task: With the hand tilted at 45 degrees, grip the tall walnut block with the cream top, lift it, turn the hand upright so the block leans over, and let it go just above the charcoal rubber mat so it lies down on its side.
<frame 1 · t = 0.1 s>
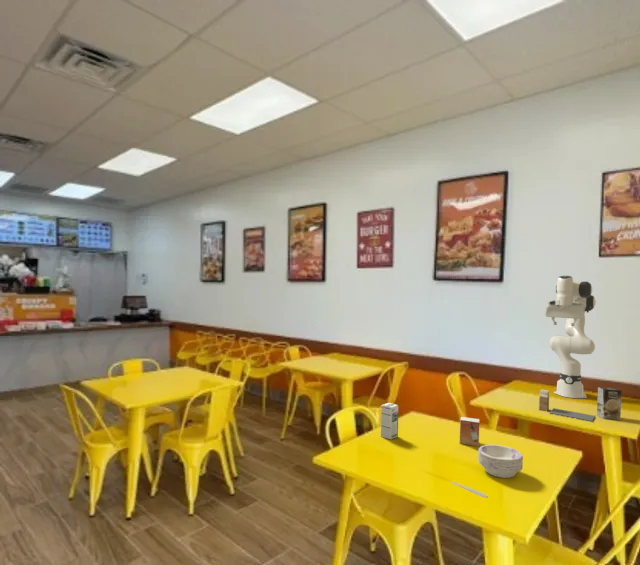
hand: (564, 325, 253), 48 cm above the table, tool pointing down, fingers open, 8 cm apart
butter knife: (450, 483, 147), on the table
mat: (572, 415, 232), on the table
small box: (469, 443, 185), on the table
syrup box: (389, 437, 190), on the table
paper bowls: (499, 473, 156), on the table
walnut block: (543, 409, 241), on the table
coffee box: (608, 418, 230), on the table
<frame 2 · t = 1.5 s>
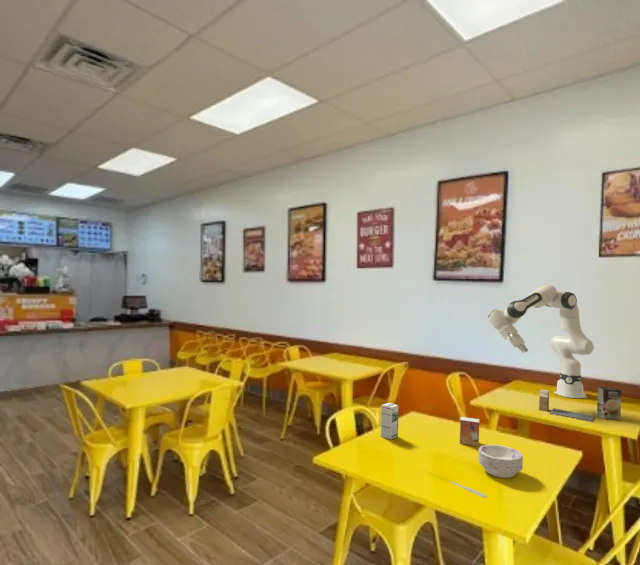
hand: (525, 351, 248), 32 cm above the table, tool tilted 45°, fingers open, 8 cm apart
nothing on the table moved.
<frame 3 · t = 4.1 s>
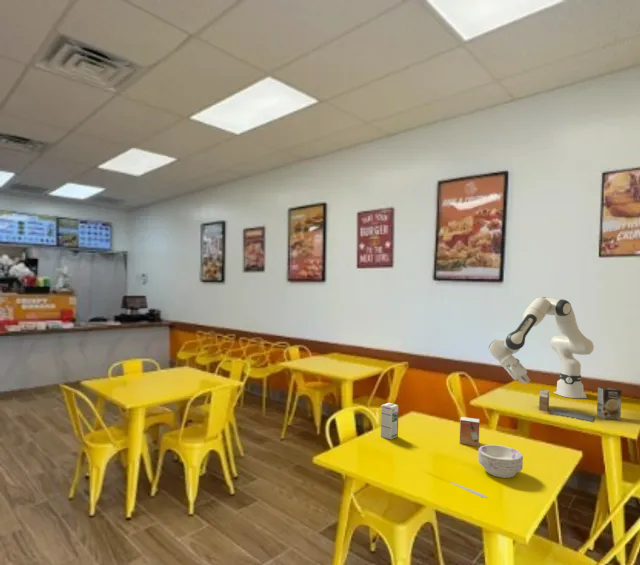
hand: (527, 382, 247), 14 cm above the table, tool tilted 45°, fingers open, 8 cm apart
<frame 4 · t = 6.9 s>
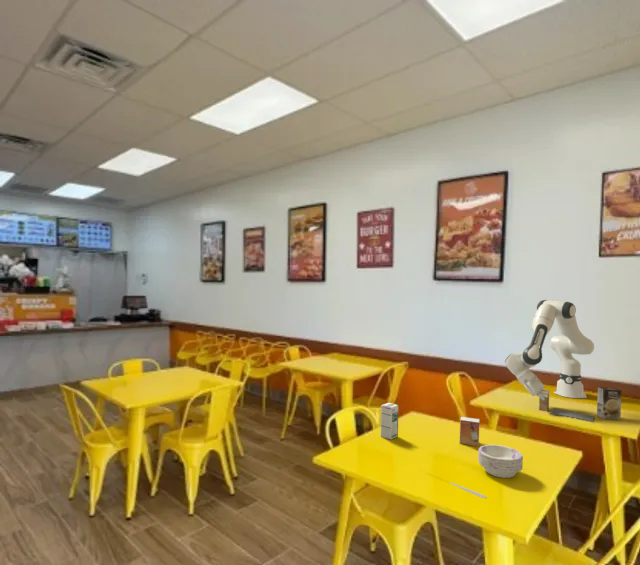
hand: (545, 398, 241), 7 cm above the table, tool tilted 45°, fingers closed on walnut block, 5 cm apart
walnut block: (543, 409, 241), on the table, touching gripper
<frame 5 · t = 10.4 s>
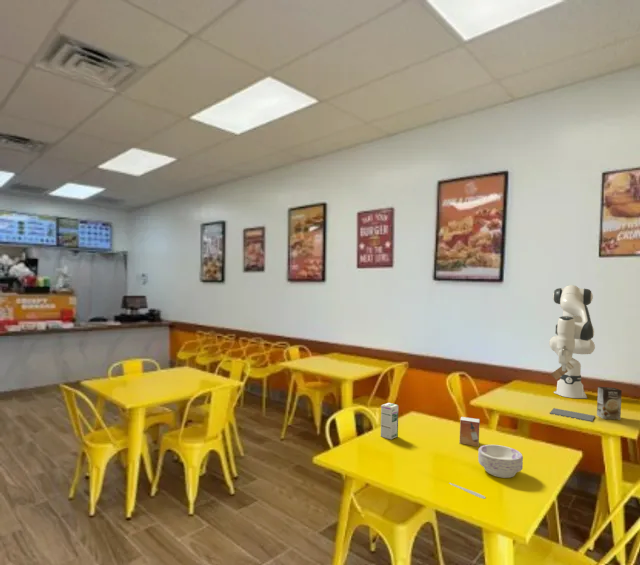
hand: (564, 370, 235), 24 cm above the table, tool pointing down, fingers closed on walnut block, 5 cm apart
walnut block: (554, 376, 238), point 20 cm above the table, tilted 45°, touching gripper
when the fingers open (8 cm above the table, at t = 13.1 s): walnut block moves 2 cm and tips over, resting on mat.
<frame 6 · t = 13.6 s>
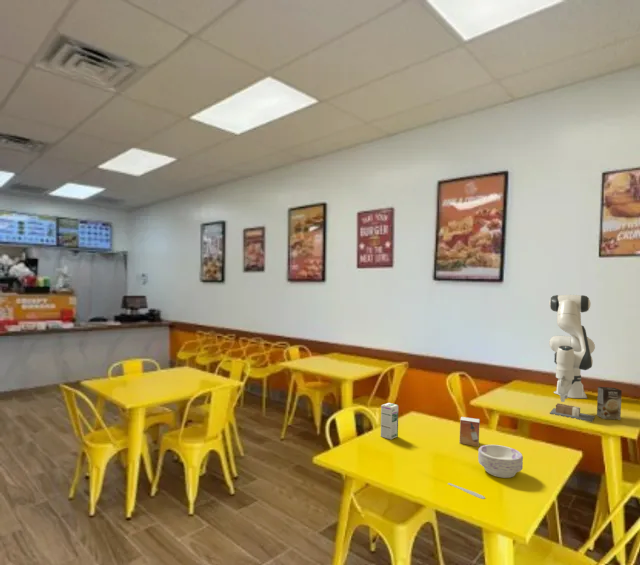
hand: (564, 399, 235), 8 cm above the table, tool pointing down, fingers open, 8 cm apart
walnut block: (556, 407, 237), point 3 cm above the table, tilted 90°, touching mat
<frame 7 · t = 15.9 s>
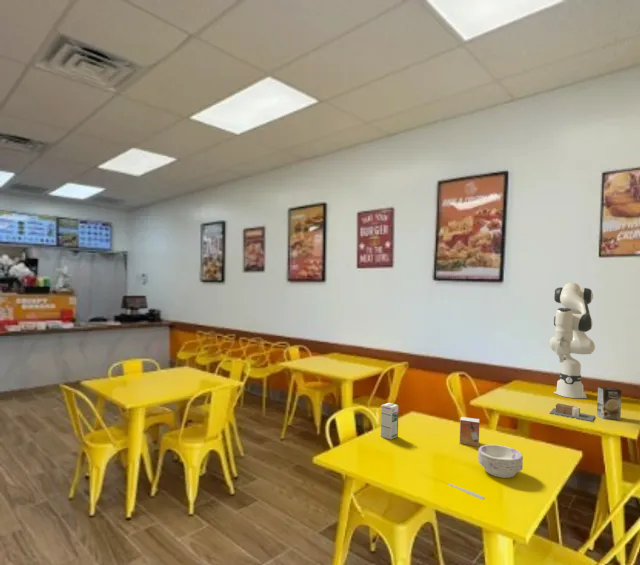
hand: (563, 361, 237), 29 cm above the table, tool pointing down, fingers open, 8 cm apart
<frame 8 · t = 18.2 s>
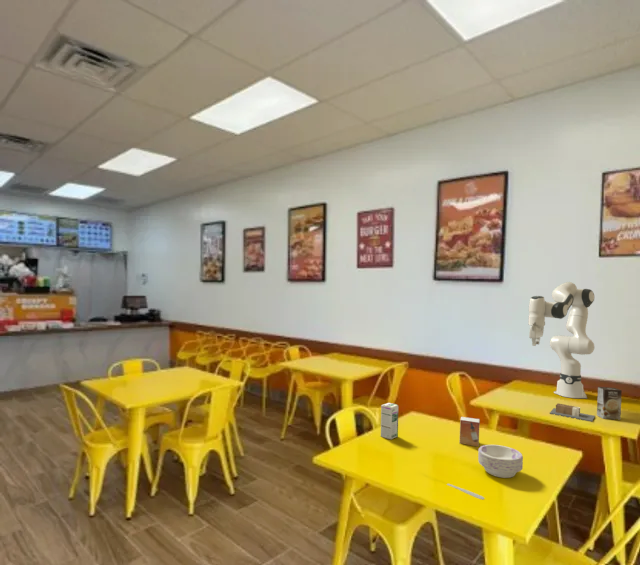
hand: (535, 345, 257), 35 cm above the table, tool pointing down, fingers open, 8 cm apart
at the end: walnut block tilted 90°; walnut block touching mat; the gripper is holding nothing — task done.
